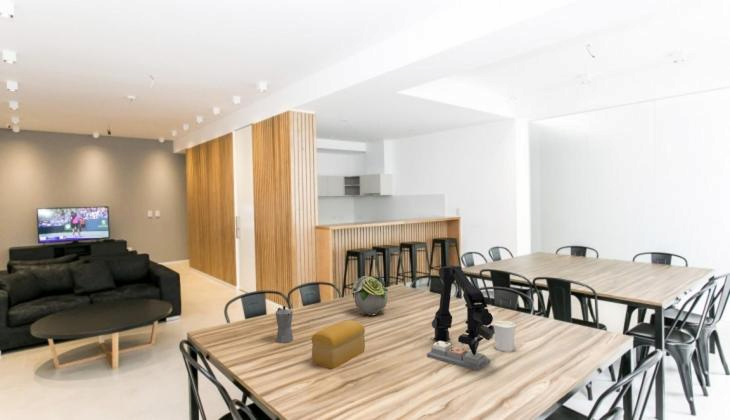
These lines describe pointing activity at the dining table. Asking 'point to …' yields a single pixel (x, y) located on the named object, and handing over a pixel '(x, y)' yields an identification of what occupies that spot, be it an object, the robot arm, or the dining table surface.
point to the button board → (458, 359)
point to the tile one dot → (472, 356)
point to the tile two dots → (442, 345)
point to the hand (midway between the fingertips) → (474, 354)
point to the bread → (338, 344)
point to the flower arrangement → (370, 294)
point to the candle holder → (504, 335)
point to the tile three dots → (457, 351)
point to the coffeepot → (284, 325)
